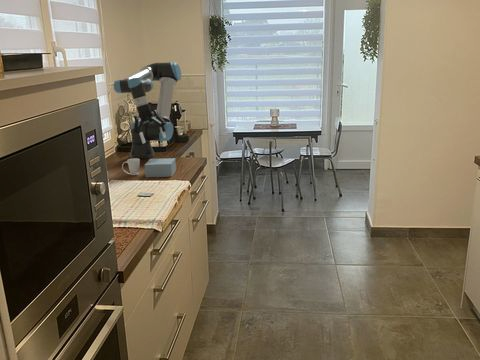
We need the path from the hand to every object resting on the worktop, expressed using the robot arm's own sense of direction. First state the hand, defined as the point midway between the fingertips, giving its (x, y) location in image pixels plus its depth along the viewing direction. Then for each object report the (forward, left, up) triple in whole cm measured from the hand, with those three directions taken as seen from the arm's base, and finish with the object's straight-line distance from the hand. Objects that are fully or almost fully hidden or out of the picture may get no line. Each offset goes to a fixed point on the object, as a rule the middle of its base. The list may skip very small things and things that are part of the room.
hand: (154, 140), depth 262 cm
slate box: (+20, +6, -15) cm, 26 cm away
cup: (+20, -10, -15) cm, 27 cm away
